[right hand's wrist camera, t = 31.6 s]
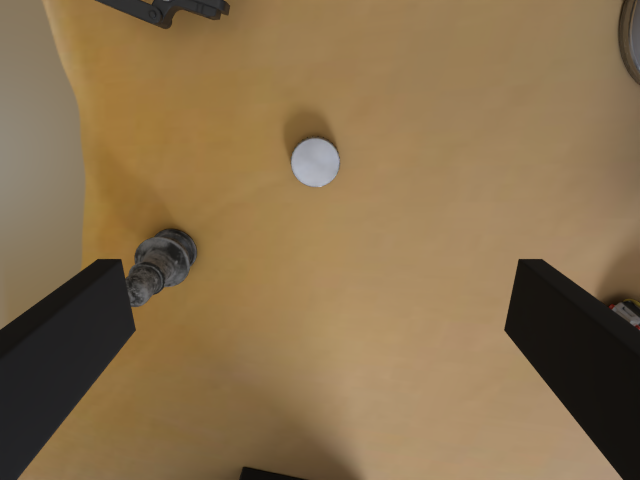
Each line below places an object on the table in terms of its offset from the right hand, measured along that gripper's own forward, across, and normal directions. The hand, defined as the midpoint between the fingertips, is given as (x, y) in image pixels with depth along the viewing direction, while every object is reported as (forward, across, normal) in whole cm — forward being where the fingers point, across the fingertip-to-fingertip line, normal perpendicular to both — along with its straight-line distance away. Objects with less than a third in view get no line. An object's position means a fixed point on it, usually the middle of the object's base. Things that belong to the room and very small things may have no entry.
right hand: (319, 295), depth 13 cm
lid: (+28, 0, 0) cm, 28 cm away
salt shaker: (+29, +17, +10) cm, 36 cm away
